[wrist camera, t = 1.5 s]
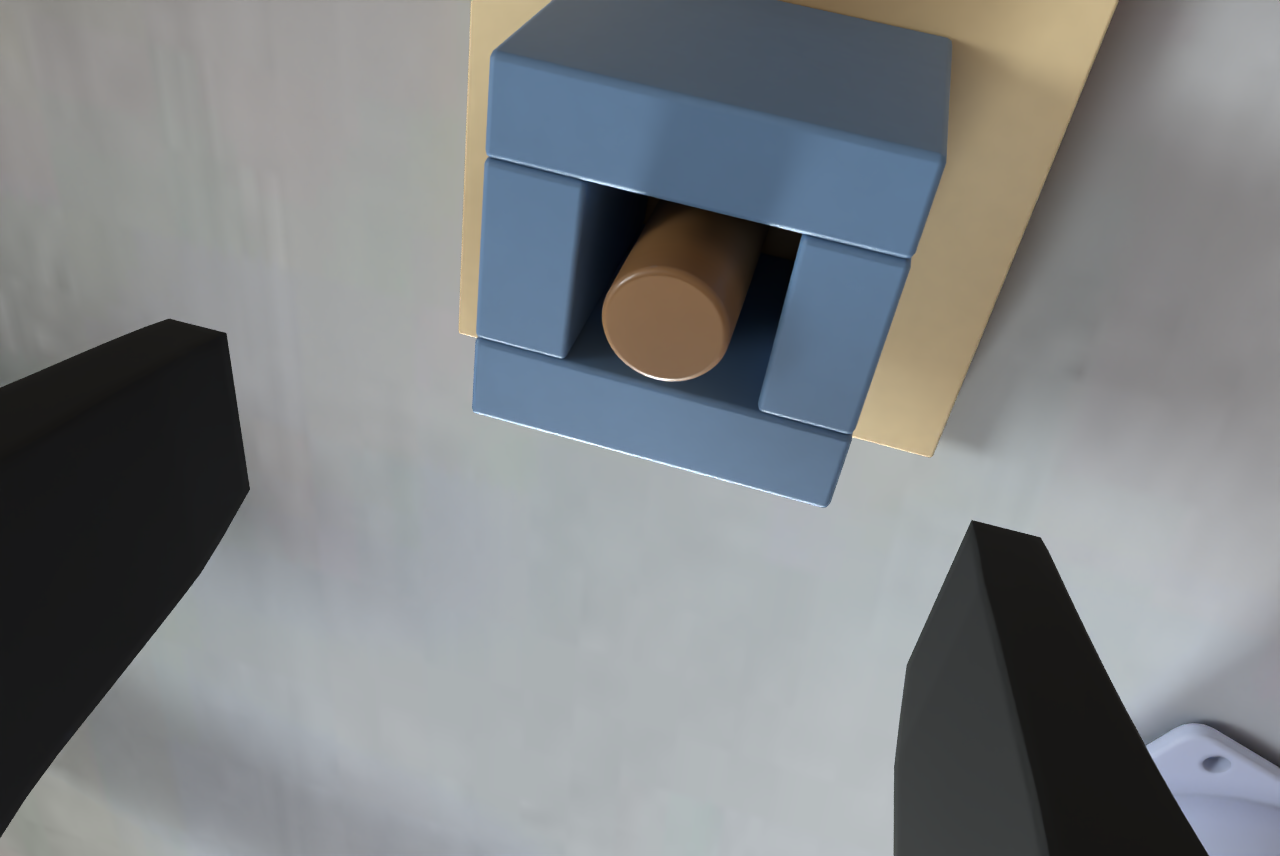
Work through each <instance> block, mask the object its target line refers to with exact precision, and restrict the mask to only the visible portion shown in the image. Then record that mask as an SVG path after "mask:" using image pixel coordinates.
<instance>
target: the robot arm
mask: <svg viewBox="0 0 1280 856" xmlns="http://www.w3.org/2000/svg"><path fill="white" fill-rule="evenodd" d="M249 490H250V487H249V481H248V474H247V467H246V461H245V454H244V447H243V441H242V434H241V427H240V421H239V414H238V407H237V401H236V394H235V387H234V381H233V374H232V367H231V361H230V354H229V347H228V341H227V334H226V333H224V332H220V331H216V330H212V329H208V328H204V327H200V326H196V325H192V324H188V323H184V322H180V321H176V320H172V319H167V320H164V321H161V322H158V323H155V324H152V325H150V326H147V327H144V328H141V329H139V330H136V331H134V332H131V333H129V334H126V335H124V336H121V337H119V338H116V339H114V340H111V341H109V342H107V343H104V344H102V345H99V346H97V347H95V348H92V349H90V350H88V351H85V352H83V353H81V354H78V355H76V356H74V357H71V358H69V359H67V360H64V361H62V362H60V363H57V364H55V365H53V366H50V367H48V368H46V369H43V370H41V371H39V372H36V373H34V374H32V375H29V376H27V377H25V378H22V379H20V380H18V381H15V382H13V383H11V384H8V385H6V386H4V387H1V388H0V837H1V836H2V834H3V833H4V831H5V830H6V828H7V827H8V825H9V823H10V822H11V820H12V819H13V817H14V816H15V814H16V813H17V811H18V809H19V808H20V806H21V805H22V803H23V802H24V800H25V799H26V797H27V796H28V794H29V793H30V792H31V790H32V789H33V788H34V786H35V785H36V784H37V782H38V781H39V779H40V778H41V777H42V775H43V774H44V773H45V771H46V770H47V769H48V767H49V766H50V764H51V763H52V762H53V760H54V759H55V758H56V756H57V755H58V754H59V752H60V751H61V750H62V749H63V747H64V746H65V745H66V744H67V742H68V741H69V740H70V739H71V737H72V736H73V735H74V733H75V732H76V731H77V730H78V728H79V727H80V726H81V725H82V723H83V722H84V721H85V720H86V718H87V717H88V716H89V715H90V713H91V712H92V711H93V710H94V708H95V707H96V706H97V705H98V703H99V702H100V701H101V700H102V698H103V697H104V696H105V695H106V693H107V692H108V691H109V690H110V688H111V687H112V686H113V684H114V683H115V682H116V681H117V679H118V678H119V677H120V676H121V674H122V673H123V672H124V671H125V669H126V668H127V667H128V666H129V664H130V663H131V662H132V661H133V659H134V658H135V657H136V656H137V654H138V653H139V652H140V651H141V649H142V648H143V647H144V646H145V644H146V643H147V642H148V641H149V639H150V638H151V637H152V636H153V634H154V633H155V632H156V630H157V629H158V628H159V627H160V625H161V624H162V623H163V621H164V620H165V619H166V618H167V616H168V615H169V614H170V612H171V611H172V610H173V609H174V607H175V606H176V605H177V603H178V602H179V601H180V600H181V598H182V597H183V596H184V595H185V593H186V592H187V591H188V589H189V588H190V587H191V585H192V584H193V583H194V581H195V580H196V579H197V577H198V576H199V575H200V573H201V572H202V570H203V569H204V567H205V565H206V564H207V562H208V560H209V559H210V557H211V556H212V554H213V552H214V551H215V549H216V547H217V546H218V544H219V542H220V541H221V539H222V538H223V536H224V534H225V532H226V531H227V529H228V527H229V525H230V524H231V522H232V520H233V518H234V516H235V515H236V513H237V511H238V509H239V508H240V506H241V504H242V502H243V500H244V499H245V497H246V495H247V493H248V492H249ZM1212 756H1219V757H1212ZM894 856H1280V768H1279V767H1277V766H1276V765H1274V764H1272V763H1271V762H1269V761H1267V760H1266V759H1264V758H1262V757H1261V756H1259V755H1257V754H1256V753H1254V752H1252V751H1251V750H1249V749H1247V748H1246V747H1244V746H1242V745H1241V744H1239V743H1237V742H1236V741H1234V740H1232V739H1231V738H1229V737H1227V736H1226V735H1224V734H1222V733H1221V732H1219V731H1217V730H1216V729H1214V728H1212V727H1209V726H1207V725H1204V724H1198V723H1190V724H1183V725H1181V726H1178V727H1176V728H1174V729H1173V730H1171V731H1169V732H1168V733H1166V734H1164V735H1163V736H1161V737H1159V738H1158V739H1156V740H1154V741H1153V742H1151V743H1149V744H1148V745H1146V746H1145V744H1144V742H1143V740H1142V738H1141V736H1140V735H1139V733H1138V731H1137V729H1136V727H1135V725H1134V724H1133V722H1132V720H1131V718H1130V716H1129V714H1128V712H1127V711H1126V709H1125V707H1124V705H1123V703H1122V701H1121V699H1120V697H1119V695H1118V694H1117V692H1116V690H1115V688H1114V686H1113V684H1112V682H1111V680H1110V678H1109V676H1108V674H1107V672H1106V670H1105V668H1104V666H1103V664H1102V662H1101V660H1100V658H1099V656H1098V654H1097V652H1096V650H1095V648H1094V646H1093V644H1092V642H1091V640H1090V638H1089V636H1088V634H1087V632H1086V630H1085V627H1084V625H1083V623H1082V621H1081V619H1080V617H1079V615H1078V613H1077V611H1076V609H1075V607H1074V604H1073V602H1072V600H1071V598H1070V596H1069V594H1068V592H1067V590H1066V587H1065V585H1064V583H1063V581H1062V579H1061V577H1060V575H1059V573H1058V570H1057V568H1056V566H1055V564H1054V562H1053V560H1052V558H1051V556H1050V553H1049V551H1048V549H1047V548H1046V546H1045V544H1044V543H1043V541H1042V539H1041V537H1037V536H1033V535H1029V534H1025V533H1021V532H1017V531H1013V530H1009V529H1005V528H1001V527H997V526H993V525H989V524H985V523H981V522H977V521H973V520H972V521H971V523H970V525H969V527H968V529H967V532H966V534H965V536H964V538H963V541H962V543H961V545H960V547H959V550H958V552H957V554H956V556H955V559H954V561H953V563H952V565H951V567H950V570H949V572H948V574H947V576H946V579H945V581H944V583H943V585H942V588H941V590H940V592H939V594H938V597H937V599H936V601H935V603H934V605H933V608H932V610H931V612H930V614H929V617H928V619H927V621H926V623H925V626H924V628H923V630H922V632H921V635H920V637H919V639H918V641H917V643H916V646H915V648H914V650H913V652H912V655H911V657H910V659H909V661H908V664H907V668H906V675H905V683H904V690H903V698H902V706H901V713H900V721H899V730H898V739H897V747H896V756H895V765H894Z"/></svg>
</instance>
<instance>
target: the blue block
mask: <svg viewBox="0 0 1280 856" xmlns="http://www.w3.org/2000/svg"><path fill="white" fill-rule="evenodd" d="M951 61H952V41H951V40H950V39H948V38H946V37H942V36H937V35H933V34H928V33H924V32H919V31H914V30H910V29H905V28H901V27H896V26H892V25H887V24H883V23H878V22H873V21H869V20H864V19H860V18H855V17H851V16H846V15H842V14H837V13H833V12H828V11H823V10H819V9H814V8H810V7H805V6H801V5H796V4H792V3H787V2H783V1H778V0H552V1H551V2H550V3H548V4H547V5H546V6H545V7H544V8H543V9H541V10H540V11H539V12H538V13H537V14H535V15H534V16H533V17H532V18H531V19H530V20H528V21H527V22H526V23H525V24H524V25H523V26H521V27H520V28H519V29H518V30H517V31H516V32H514V33H513V34H512V35H511V36H510V37H508V38H507V39H506V40H505V41H504V42H503V43H501V44H500V45H499V46H498V47H497V48H496V49H494V50H493V51H492V53H491V56H490V68H489V88H488V108H487V128H486V154H487V155H488V156H489V157H488V158H487V159H486V161H485V163H484V182H483V202H482V222H481V242H480V262H479V282H478V302H477V322H476V333H477V336H478V338H477V339H476V343H475V363H474V383H473V403H472V409H473V411H474V412H475V413H477V414H481V415H485V416H488V417H492V418H496V419H499V420H503V421H507V422H510V423H514V424H518V425H521V426H525V427H529V428H532V429H536V430H540V431H543V432H547V433H551V434H554V435H558V436H562V437H565V438H569V439H573V440H576V441H580V442H584V443H587V444H591V445H595V446H598V447H602V448H606V449H609V450H613V451H617V452H620V453H624V454H628V455H631V456H635V457H639V458H642V459H646V460H650V461H653V462H657V463H661V464H664V465H668V466H672V467H675V468H679V469H683V470H686V471H690V472H694V473H697V474H701V475H705V476H708V477H712V478H716V479H719V480H723V481H727V482H730V483H734V484H738V485H741V486H745V487H749V488H752V489H756V490H760V491H763V492H767V493H771V494H774V495H778V496H782V497H785V498H789V499H793V500H796V501H800V502H804V503H807V504H811V505H815V506H818V507H822V508H823V507H827V506H828V505H829V504H830V502H831V499H832V496H833V493H834V491H835V488H836V485H837V482H838V479H839V476H840V473H841V470H842V467H843V464H844V461H845V458H846V455H847V452H848V450H849V447H850V444H851V441H852V435H853V431H854V430H855V429H856V426H857V423H858V420H859V417H860V414H861V411H862V408H863V405H864V403H865V400H866V397H867V394H868V391H869V388H870V385H871V382H872V379H873V376H874V373H875V370H876V367H877V364H878V362H879V359H880V356H881V353H882V350H883V347H884V344H885V341H886V338H887V335H888V332H889V329H890V326H891V323H892V320H893V318H894V315H895V312H896V309H897V306H898V303H899V300H900V297H901V294H902V291H903V288H904V285H905V282H906V279H907V277H908V274H909V271H910V268H911V259H912V256H913V255H914V254H915V253H916V250H917V247H918V244H919V241H920V238H921V235H922V233H923V230H924V227H925V224H926V221H927V218H928V215H929V212H930V209H931V206H932V203H933V200H934V197H935V194H936V192H937V189H938V186H939V183H940V180H941V177H942V174H943V171H944V168H945V165H946V159H947V140H948V120H949V100H950V80H951ZM648 196H651V197H655V198H659V199H663V200H667V201H671V202H675V203H680V204H684V205H688V206H692V207H696V208H700V209H704V210H708V211H712V212H716V213H720V214H725V215H729V216H733V217H737V218H741V219H745V220H749V221H753V222H757V223H761V224H766V225H770V226H774V227H778V228H782V229H786V230H790V231H794V232H798V233H802V237H801V240H800V244H799V248H798V252H797V255H796V259H795V261H792V260H788V259H784V258H780V257H776V256H772V255H768V254H764V253H761V254H760V257H759V260H758V263H757V266H756V268H755V271H754V274H753V277H752V280H751V283H750V286H749V289H748V292H747V294H746V297H745V300H744V303H743V306H742V309H741V312H740V315H739V317H738V320H737V323H736V326H735V329H734V332H733V335H732V338H731V341H730V343H729V346H728V349H727V351H726V353H725V355H724V356H723V358H722V359H721V361H720V362H719V363H718V364H717V365H716V366H715V367H713V368H712V369H711V370H710V371H708V372H706V373H704V374H703V375H701V376H698V377H696V378H693V379H690V380H685V381H673V382H670V381H661V380H657V379H653V378H650V377H647V376H645V375H642V374H640V373H638V372H637V371H635V370H633V369H632V368H630V367H629V366H628V365H626V364H625V363H624V362H623V361H622V360H621V359H620V358H619V357H618V356H617V355H616V354H615V352H614V351H613V349H612V348H611V346H610V344H609V342H608V340H607V338H606V335H605V332H604V328H603V323H602V307H603V303H604V299H605V297H606V294H607V292H608V291H609V289H610V287H611V285H612V284H613V282H614V280H615V278H616V276H617V275H618V273H619V271H620V269H621V268H622V266H623V264H624V262H625V260H626V259H627V257H628V255H629V253H630V252H631V250H632V248H633V246H634V244H635V243H636V241H637V239H638V237H639V236H640V234H641V232H642V230H643V228H644V227H645V225H646V224H642V223H643V221H644V220H645V213H646V207H647V201H648Z"/></svg>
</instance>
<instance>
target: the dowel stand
mask: <svg viewBox="0 0 1280 856" xmlns="http://www.w3.org/2000/svg"><path fill="white" fill-rule="evenodd" d="M551 1H552V0H471V15H470V42H469V68H468V95H467V121H466V148H465V174H464V201H463V227H462V254H461V281H460V307H459V333H461V334H464V335H468V336H472V337H476V338H478V336H477V333H476V322H477V302H478V282H479V262H480V242H481V222H482V202H483V182H484V163H485V161H486V159H487V158H488V157H489V156H488V155H487V154H486V128H487V108H488V88H489V68H490V56H491V53H492V51H493V50H494V49H496V48H497V47H498V46H499V45H500V44H501V43H503V42H504V41H505V40H506V39H507V38H508V37H510V36H511V35H512V34H513V33H514V32H516V31H517V30H518V29H519V28H520V27H521V26H523V25H524V24H525V23H526V22H527V21H528V20H530V19H531V18H532V17H533V16H534V15H535V14H537V13H538V12H539V11H540V10H541V9H543V8H544V7H545V6H546V5H547V4H548V3H550V2H551ZM778 1H783V2H787V3H792V4H796V5H801V6H805V7H810V8H814V9H819V10H823V11H828V12H833V13H837V14H842V15H846V16H851V17H855V18H860V19H864V20H869V21H873V22H878V23H883V24H887V25H892V26H896V27H901V28H905V29H910V30H914V31H919V32H924V33H928V34H933V35H937V36H942V37H946V38H948V39H950V40H951V41H952V61H951V80H950V100H949V120H948V140H947V159H946V165H945V168H944V171H943V174H942V177H941V180H940V183H939V186H938V189H937V192H936V194H935V197H934V200H933V203H932V206H931V209H930V212H929V215H928V218H927V221H926V224H925V227H924V230H923V233H922V235H921V238H920V241H919V244H918V247H917V250H916V253H915V254H914V255H913V256H912V259H911V268H910V271H909V274H908V277H907V279H906V282H905V285H904V288H903V291H902V294H901V297H900V300H899V303H898V306H897V309H896V312H895V315H894V318H893V320H892V323H891V326H890V329H889V332H888V335H887V338H886V341H885V344H884V347H883V350H882V353H881V356H880V359H879V362H878V364H877V367H876V370H875V373H874V376H873V379H872V382H871V385H870V388H869V391H868V394H867V397H866V400H865V403H864V405H863V408H862V411H861V414H860V417H859V420H858V423H857V426H856V429H855V430H854V431H853V435H852V437H854V438H858V439H861V440H865V441H869V442H873V443H877V444H880V445H884V446H888V447H892V448H895V449H899V450H903V451H907V452H911V453H914V454H918V455H922V456H926V457H932V456H933V455H934V452H935V450H936V447H937V445H938V442H939V440H940V437H941V435H942V433H943V430H944V428H945V425H946V423H947V420H948V418H949V415H950V413H951V411H952V408H953V406H954V403H955V401H956V398H957V396H958V393H959V391H960V389H961V386H962V384H963V381H964V379H965V376H966V374H967V371H968V369H969V366H970V364H971V362H972V359H973V357H974V354H975V352H976V349H977V347H978V344H979V342H980V340H981V337H982V335H983V332H984V330H985V327H986V325H987V322H988V320H989V318H990V315H991V313H992V310H993V308H994V305H995V303H996V300H997V298H998V295H999V293H1000V291H1001V288H1002V286H1003V283H1004V281H1005V278H1006V276H1007V273H1008V271H1009V269H1010V266H1011V264H1012V261H1013V259H1014V256H1015V254H1016V251H1017V249H1018V247H1019V244H1020V242H1021V239H1022V237H1023V234H1024V232H1025V229H1026V227H1027V224H1028V222H1029V220H1030V217H1031V215H1032V212H1033V210H1034V207H1035V205H1036V202H1037V200H1038V198H1039V195H1040V193H1041V190H1042V188H1043V185H1044V183H1045V180H1046V178H1047V176H1048V173H1049V171H1050V168H1051V166H1052V163H1053V161H1054V158H1055V156H1056V153H1057V151H1058V149H1059V146H1060V144H1061V141H1062V139H1063V136H1064V134H1065V131H1066V129H1067V127H1068V124H1069V122H1070V119H1071V117H1072V114H1073V112H1074V109H1075V107H1076V105H1077V102H1078V100H1079V97H1080V95H1081V92H1082V90H1083V87H1084V85H1085V82H1086V80H1087V78H1088V75H1089V73H1090V70H1091V68H1092V65H1093V63H1094V60H1095V58H1096V56H1097V53H1098V51H1099V48H1100V46H1101V43H1102V41H1103V38H1104V36H1105V34H1106V31H1107V29H1108V26H1109V24H1110V21H1111V19H1112V16H1113V14H1114V11H1115V9H1116V7H1117V4H1118V2H1119V0H778ZM642 224H646V225H645V227H644V228H643V230H642V232H641V234H640V236H639V237H638V239H637V241H636V243H635V244H634V246H633V248H632V250H631V252H630V253H629V255H628V257H627V259H626V260H625V262H624V264H623V266H622V268H621V269H620V271H619V273H618V275H617V276H616V278H615V280H614V282H613V284H612V285H611V287H610V289H609V291H608V292H607V294H606V297H605V299H604V303H603V307H602V323H603V328H604V332H605V335H606V338H607V340H608V342H609V344H610V346H611V348H612V349H613V351H614V352H615V354H616V355H617V356H618V357H619V358H620V359H621V360H622V361H623V362H624V363H625V364H626V365H628V366H629V367H630V368H632V369H633V370H635V371H637V372H638V373H640V374H642V375H645V376H647V377H650V378H653V379H657V380H661V381H670V382H673V381H685V380H690V379H693V378H696V377H698V376H701V375H703V374H704V373H706V372H708V371H710V370H711V369H712V368H713V367H715V366H716V365H717V364H718V363H719V362H720V361H721V359H722V358H723V356H724V355H725V353H726V351H727V349H728V346H729V343H730V341H731V338H732V335H733V332H734V329H735V326H736V323H737V320H738V317H739V315H740V312H741V309H742V306H743V303H744V300H745V297H746V294H747V292H748V289H749V286H750V283H751V280H752V277H753V274H754V271H755V268H756V266H757V263H758V260H759V257H760V254H761V253H764V254H768V255H772V256H776V257H780V258H784V259H788V260H792V261H795V259H796V255H797V252H798V248H799V244H800V240H801V237H802V233H798V232H794V231H790V230H786V229H782V228H778V227H774V226H770V225H766V224H761V223H757V222H753V221H749V220H745V219H741V218H737V217H733V216H729V215H725V214H720V213H716V212H712V211H708V210H704V209H700V208H696V207H692V206H688V205H684V204H680V203H675V202H671V201H667V200H663V199H659V198H655V197H651V196H648V201H647V207H646V213H645V220H644V221H643V223H642Z"/></svg>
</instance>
